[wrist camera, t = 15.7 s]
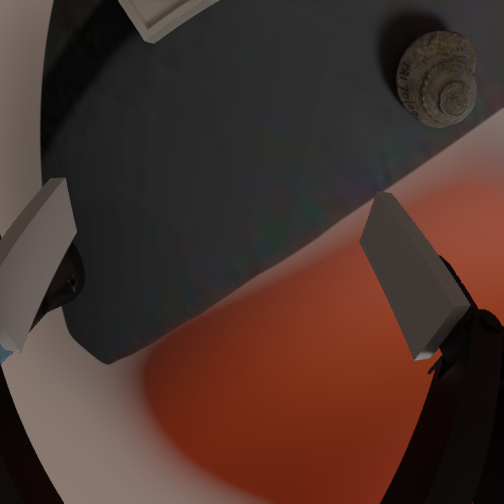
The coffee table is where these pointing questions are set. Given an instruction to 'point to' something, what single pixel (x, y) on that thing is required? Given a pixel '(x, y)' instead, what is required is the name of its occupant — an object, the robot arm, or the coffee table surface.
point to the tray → (161, 15)
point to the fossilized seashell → (438, 78)
